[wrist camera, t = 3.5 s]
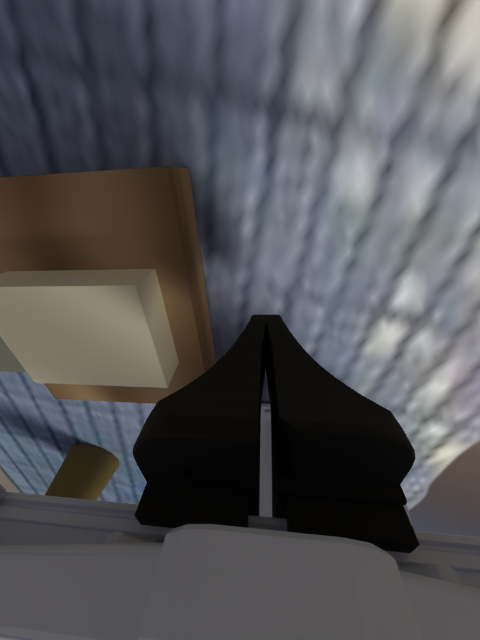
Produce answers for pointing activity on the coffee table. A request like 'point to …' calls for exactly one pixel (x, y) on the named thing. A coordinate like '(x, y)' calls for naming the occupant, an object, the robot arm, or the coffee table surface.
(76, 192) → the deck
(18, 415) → the coffee table surface
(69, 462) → the cork
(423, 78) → the coffee table surface
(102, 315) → the tile
